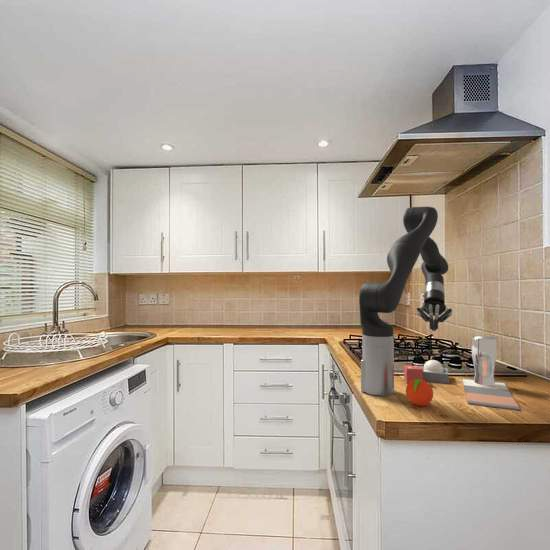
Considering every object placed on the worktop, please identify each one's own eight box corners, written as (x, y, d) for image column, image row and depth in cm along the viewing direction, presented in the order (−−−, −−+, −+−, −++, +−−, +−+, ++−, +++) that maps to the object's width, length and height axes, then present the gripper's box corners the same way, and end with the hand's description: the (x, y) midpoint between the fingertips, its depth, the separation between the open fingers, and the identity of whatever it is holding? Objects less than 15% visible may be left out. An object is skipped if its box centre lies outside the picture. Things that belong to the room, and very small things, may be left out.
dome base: (418, 380, 120) (418, 371, 120) (420, 374, 128) (420, 365, 128) (448, 383, 116) (448, 374, 116) (447, 376, 124) (447, 368, 124)
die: (406, 384, 115) (406, 368, 115) (404, 379, 120) (403, 364, 120) (423, 384, 114) (422, 369, 114) (419, 380, 119) (419, 365, 119)
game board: (467, 403, 96) (467, 402, 96) (462, 378, 122) (462, 377, 122) (520, 410, 91) (520, 409, 91) (503, 382, 116) (503, 381, 116)
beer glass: (471, 385, 113) (470, 338, 113) (472, 380, 118) (472, 335, 119) (496, 388, 109) (496, 339, 109) (497, 383, 115) (496, 337, 115)
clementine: (428, 412, 90) (428, 384, 90) (401, 407, 94) (401, 380, 94) (436, 404, 96) (435, 378, 96) (410, 399, 100) (409, 374, 101)
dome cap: (423, 379, 120) (422, 361, 120) (423, 375, 126) (423, 357, 126) (443, 382, 118) (443, 362, 118) (443, 377, 123) (443, 359, 123)
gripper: (416, 288, 142) (414, 322, 131) (452, 288, 136) (454, 323, 125) (417, 301, 147) (415, 334, 135) (452, 301, 141) (453, 336, 130)
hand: (433, 329), depth 130 cm, fingers closed
